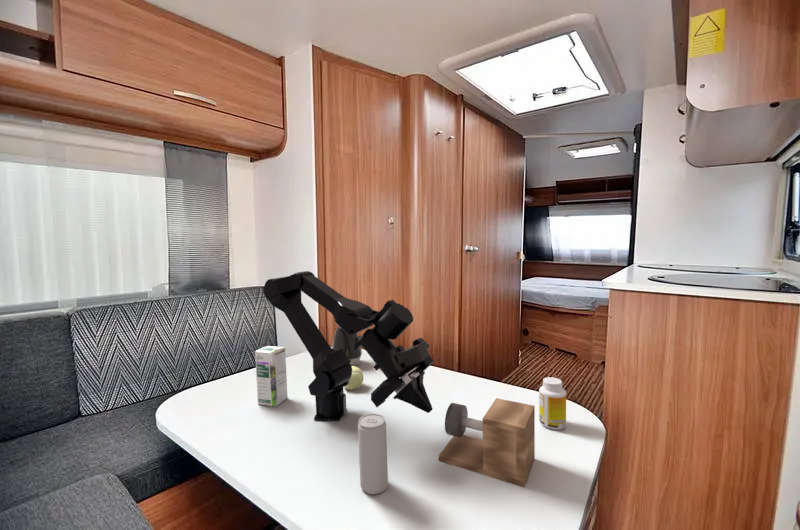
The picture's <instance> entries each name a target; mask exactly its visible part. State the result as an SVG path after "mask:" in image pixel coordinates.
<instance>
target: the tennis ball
mask: <svg viewBox="0 0 800 530" xmlns="http://www.w3.org/2000/svg"><path fill="white" fill-rule="evenodd" d="M351 367H352V375H351V378H350V379H349V381H348V385H347V386H344V387H343V388H345V389H346V390H349V391H354V390H358V389H359V388H360V387H361V386H362V384H363V382H364V373H363V371H362V370H361V368H359V367H358V366H356V365H355V366H351Z"/></svg>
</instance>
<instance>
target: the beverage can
mask: <svg viewBox="0 0 800 530" xmlns="http://www.w3.org/2000/svg"><path fill="white" fill-rule="evenodd" d="M357 423H358V424H357V434H358V436H357V437H358V439H357V440H358V458H359V459H358V461H359V462H358V464H359V479H360V480H359V483H360V484H359V485H360V488H361V489H362V491H363V492H365V493H366V494H369V495H374V496H375V495H379V494H381V493H383V492H384V491H385V490H386V488H387V487H388V484H389V471H388V444H387V442H388V441H387V438H388V437H387V423H386V418H385V417H384V416H383V415H381V414H377V413H369V414H365V415H364V414H363V415H362V416H360V418H359V419H358V422H357Z"/></svg>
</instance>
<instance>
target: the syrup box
mask: <svg viewBox="0 0 800 530" xmlns="http://www.w3.org/2000/svg"><path fill="white" fill-rule="evenodd" d="M254 353H255V354H254V356H255V357H254V358H255V359H254V360H255V375H256V376H255V377H256V393H257V405H263V406H270V407H277V406H278V405H280V404H281V403H282V402H283V401H285V400H286V399H288V397H289V396H288V382H287V381H288V378H287V377H288V376H287V361H286V359H287V358H286V346H274V345H273V346H271V345H266V346H263V347H261V348H259V349H257V350H255V352H254Z"/></svg>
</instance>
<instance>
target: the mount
mask: <svg viewBox="0 0 800 530" xmlns="http://www.w3.org/2000/svg"><path fill="white" fill-rule="evenodd" d="M535 408H536V407H535V405H533V404H527V403H523V402H516V401H512V400H507V399H502V398H499V397H498V398H497V397H496V398H495V400H494V401H493V402H492V403H491V405H490V407H488V410H487V412H486V413H485V414H484V415H483V417H482V421H483V431H482V439H481V438H476V437H473V436H469V435H465V434H464V435H463V436H462V437H461V438H459V437H456V436H452V437H451V439H449V441H448V442H447V444H446V445H445V446H444V448H443V449H442V450H441V452H440V453H439V454H438V462H442V463H444V464H445V463H446V464H450V465H451V466H455V467H459V468H461V469H464V470H468V471H471V472H475V473H477V474H481V475H484V476H487V477H490V478H494V479H497V480H500V481H504V482H505V483H510V484H512V485H516V486H520V487H522V488H526V487H527V486H526V485H527V483H528V480H529V476H530V474H531V471H532V469H533V468H532V467H533V464H534V461H535V457H536V456H535V455H536V453H535V452H536V451H535V450H536V448H535V447H536V446H535V445H536V443H535V441H536V439H535V438H536V437H535V435H536V434H535V432H536V431H535V428H536V427H535V424H536V423H535V415H536V414H535V413H536V412H535Z"/></svg>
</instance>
